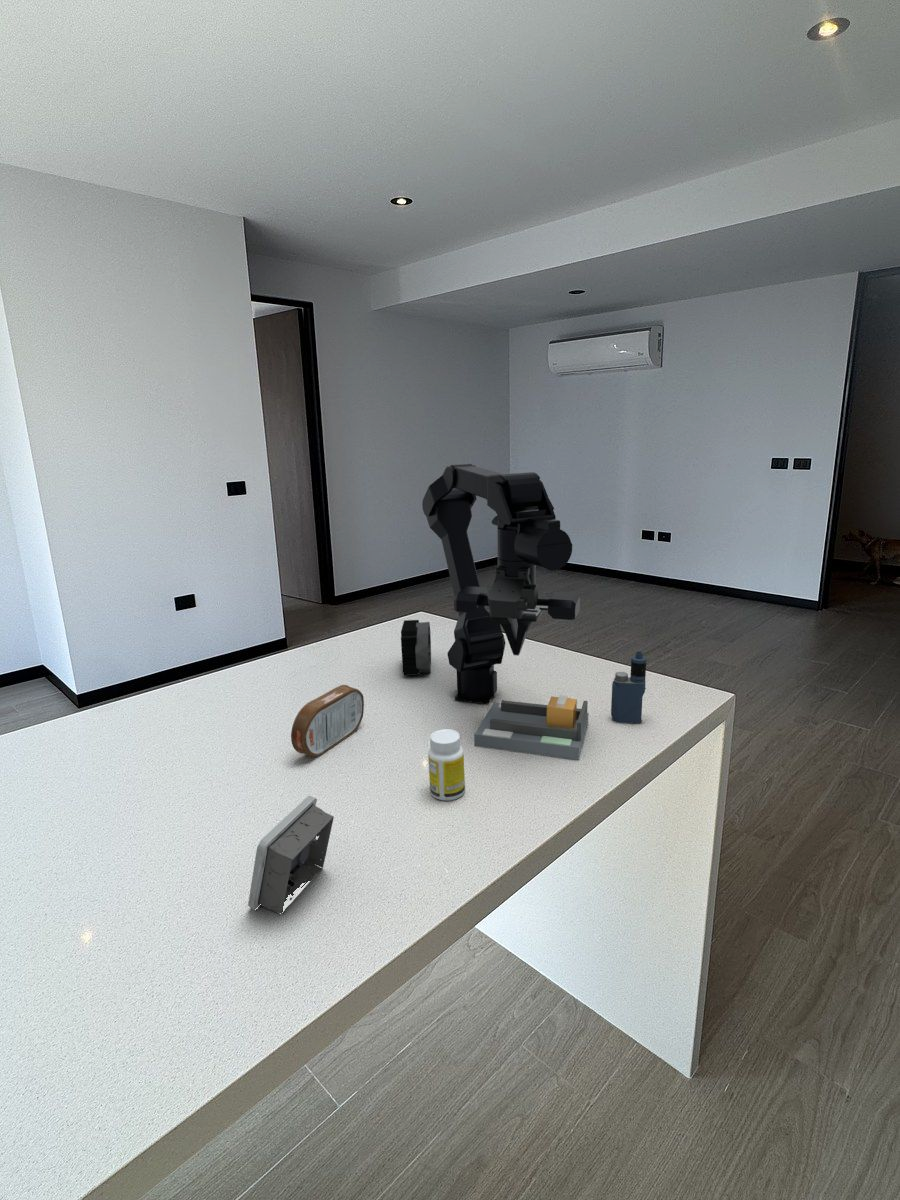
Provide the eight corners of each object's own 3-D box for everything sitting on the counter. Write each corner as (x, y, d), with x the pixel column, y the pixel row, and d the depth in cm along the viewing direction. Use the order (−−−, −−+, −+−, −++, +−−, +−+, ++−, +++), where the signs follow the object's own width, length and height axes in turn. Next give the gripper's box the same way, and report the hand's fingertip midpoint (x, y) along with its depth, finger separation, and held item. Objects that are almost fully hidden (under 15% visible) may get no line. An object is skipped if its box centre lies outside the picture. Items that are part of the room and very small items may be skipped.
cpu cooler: (430, 680, 123) (428, 631, 121) (401, 680, 123) (398, 631, 121) (432, 660, 133) (430, 615, 131) (405, 661, 133) (403, 616, 131)
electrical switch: (299, 856, 74) (298, 788, 71) (337, 870, 72) (337, 801, 69) (246, 912, 66) (242, 838, 63) (288, 929, 64) (286, 854, 61)
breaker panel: (474, 746, 98) (473, 716, 96) (494, 712, 108) (493, 686, 107) (578, 760, 92) (579, 729, 91) (588, 723, 103) (589, 695, 102)
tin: (354, 722, 107) (350, 676, 105) (369, 726, 105) (366, 679, 103) (291, 763, 94) (286, 712, 92) (307, 768, 93) (302, 716, 91)
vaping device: (644, 724, 103) (648, 655, 99) (611, 722, 104) (613, 654, 100) (642, 717, 105) (646, 650, 102) (610, 715, 106) (613, 648, 103)
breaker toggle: (546, 730, 97) (546, 703, 96) (551, 719, 101) (551, 692, 100) (572, 733, 96) (573, 706, 95) (576, 722, 100) (576, 695, 98)
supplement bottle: (469, 785, 87) (467, 730, 85) (458, 804, 83) (456, 746, 81) (436, 780, 89) (434, 725, 86) (424, 798, 84) (422, 741, 82)
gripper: (440, 566, 91) (443, 667, 95) (570, 572, 85) (567, 680, 89) (464, 551, 101) (466, 643, 105) (581, 555, 95) (579, 653, 99)
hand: (516, 654), depth 99 cm, fingers closed
